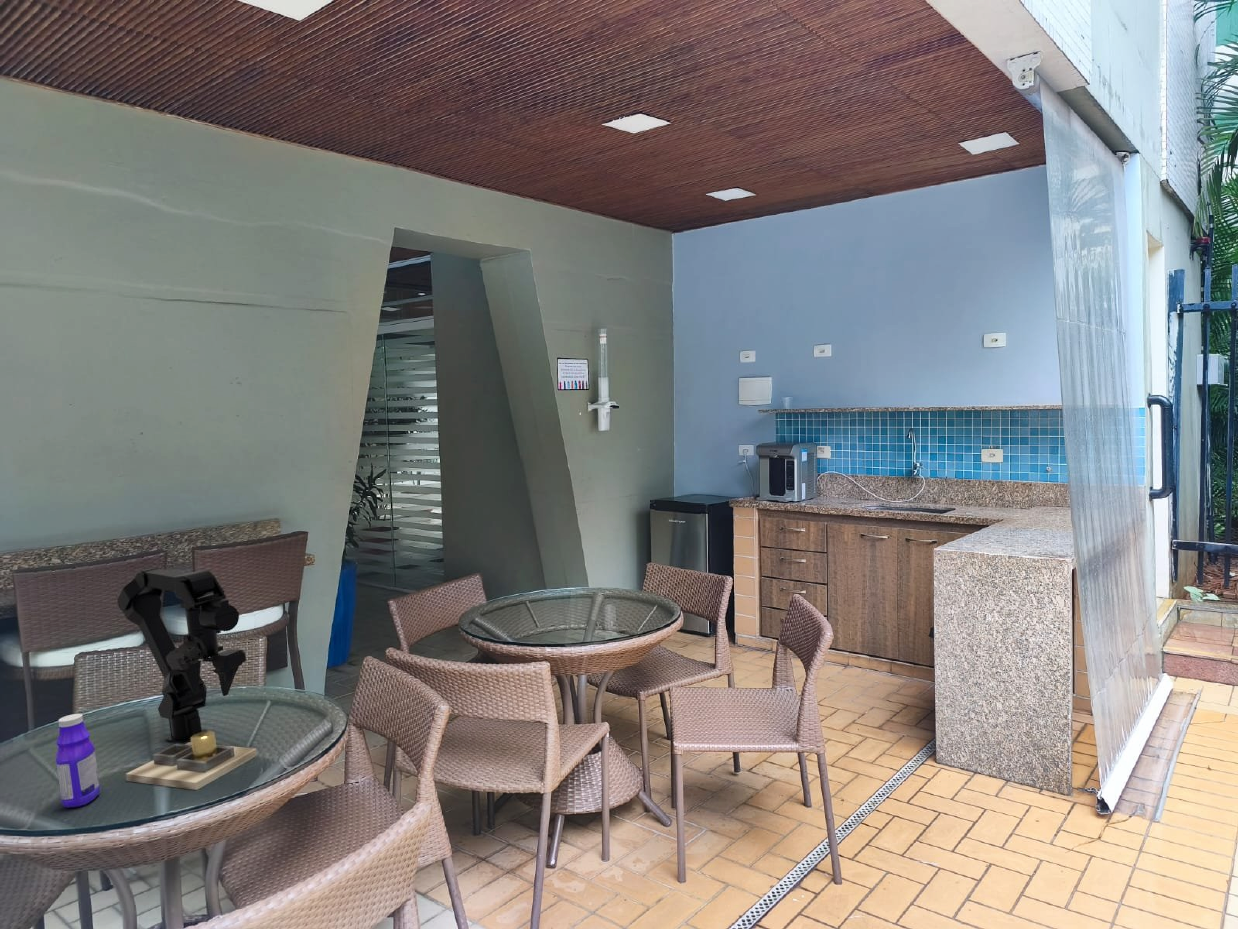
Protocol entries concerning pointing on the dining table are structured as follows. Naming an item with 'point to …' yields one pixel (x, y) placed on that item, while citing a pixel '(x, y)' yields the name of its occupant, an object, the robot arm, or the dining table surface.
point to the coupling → (203, 745)
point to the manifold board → (189, 766)
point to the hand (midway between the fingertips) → (210, 694)
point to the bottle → (76, 763)
